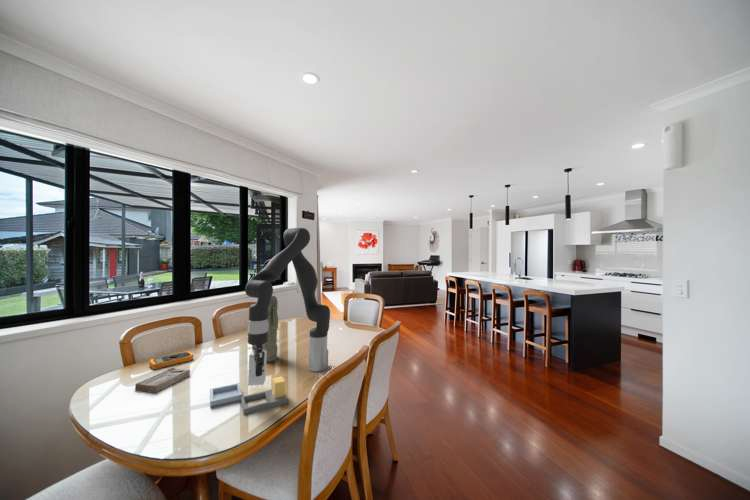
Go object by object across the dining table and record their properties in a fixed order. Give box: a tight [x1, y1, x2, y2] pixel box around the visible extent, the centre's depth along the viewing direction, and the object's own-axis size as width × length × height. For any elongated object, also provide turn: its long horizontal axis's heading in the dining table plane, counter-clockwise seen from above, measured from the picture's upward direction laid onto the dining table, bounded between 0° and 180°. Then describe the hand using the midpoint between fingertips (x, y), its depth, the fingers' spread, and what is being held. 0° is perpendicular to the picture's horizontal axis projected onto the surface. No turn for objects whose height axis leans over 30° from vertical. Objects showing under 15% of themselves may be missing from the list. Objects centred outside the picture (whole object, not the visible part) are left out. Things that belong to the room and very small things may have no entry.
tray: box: [209, 382, 243, 409], centre depth 114 cm, size 11×11×2 cm
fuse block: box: [240, 376, 288, 415], centre depth 112 cm, size 16×10×8 cm, turn 122°
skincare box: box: [247, 350, 267, 386], centre depth 110 cm, size 6×4×12 cm
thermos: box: [263, 295, 279, 363], centre depth 155 cm, size 9×12×35 cm
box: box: [134, 367, 191, 394], centre depth 125 cm, size 11×17×3 cm, turn 169°
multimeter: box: [148, 351, 194, 370], centre depth 146 cm, size 9×18×3 cm, turn 139°
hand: (257, 372), depth 110 cm, fingers closed on skincare box, 5 cm apart
